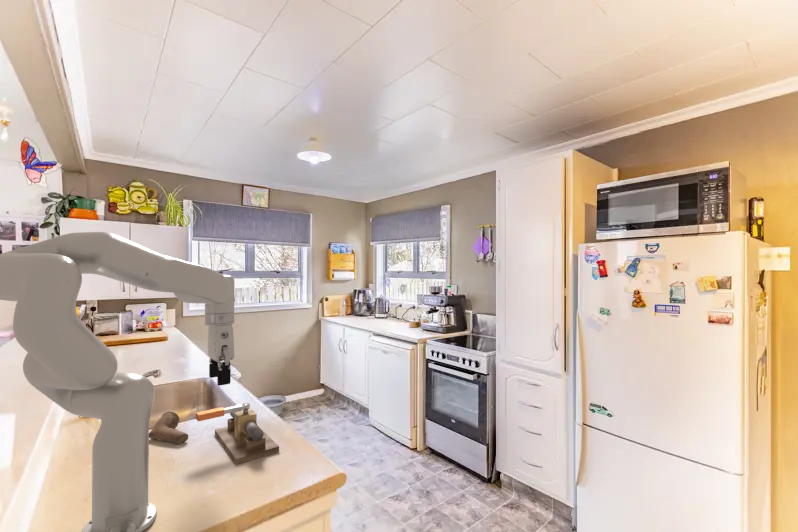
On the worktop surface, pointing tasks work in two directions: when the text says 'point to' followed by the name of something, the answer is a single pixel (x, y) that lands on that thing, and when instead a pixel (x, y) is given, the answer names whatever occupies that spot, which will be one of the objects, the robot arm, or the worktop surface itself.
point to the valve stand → (245, 437)
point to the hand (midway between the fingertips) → (219, 380)
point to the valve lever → (220, 411)
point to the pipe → (168, 429)
